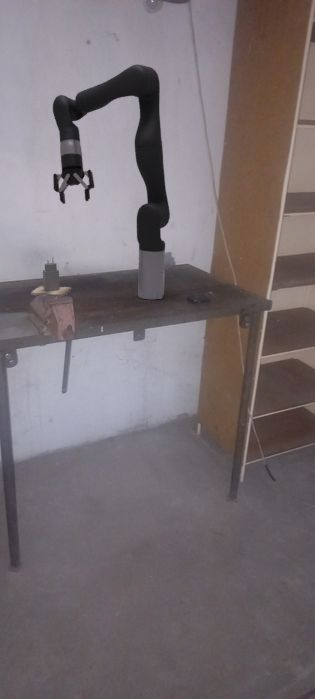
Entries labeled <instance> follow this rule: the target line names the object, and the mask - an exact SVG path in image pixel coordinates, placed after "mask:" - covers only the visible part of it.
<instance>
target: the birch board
mask: <svg viewBox="0 0 315 699" xmlns="http://www.w3.org/2000/svg"><path fill="white" fill-rule="evenodd" d="M71 291H72V287H71V286H70V287H69V286H60V290H56V291H44V285H39V286H37V288H35V289H33V290H32V291H31V292H30V295H31V296H36V297H37V295H39V294H48V295H66V296H67V295H68V294H69V293H70V292H71Z"/></svg>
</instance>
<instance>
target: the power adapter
mask: <svg viewBox="0 0 315 699" xmlns="http://www.w3.org/2000/svg"><path fill="white" fill-rule="evenodd" d="M57 265H58V264H57V263H55V262H54V257H53V256H52V262H49V261H47V263H45V264H44V269H43V270H42V278H43V279H42V280H43V282H42V284H43V286H44V291H56V290H60V287H61V286H60V270H59V269H58V266H57Z"/></svg>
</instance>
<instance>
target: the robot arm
mask: <svg viewBox="0 0 315 699" xmlns="http://www.w3.org/2000/svg"><path fill="white" fill-rule="evenodd" d="M160 86H161V85H160V78H159V74H158V73H157V70H155V69H154V68H152V67H151V66H149V65H148V66H146V65H144V64H132V65H131V66H129V67H128V68H126V69H124V70H122V71H121V72H120V73H118V74H117V75H115V76H113V77H111V78H110V79H108V80H106V81H104V82H102V83H100V84H96V85H95V86H91V87H88V88H87V89H84V90H81V91H79V92H78V93H76V95H75V97H74V98H75V99H73V98H71V97H68V96H66V95H63V94H59V95H57V96H56V97H55V98H54V100H53V103H52V112H53V113H52V114H53V116H54V117H53V118H54V120H55V124H56V125H57V126H56V127H57V129H58V133H59V146H60V147H59V155H60V163H61V164H60V167H61V173H59V174H57V173H53V174H52V175H53V177H52V180H53V191H55V192H56V193H59V201H60V202H61V203H62V204H63V205H65V204H66V196H65V191H66V190H67V189H68V187H69V186H70V187H72V186H79V185H81V186H82V187H83V188H84V190H83V191H84V200H85V202H89V200H90V199H91V196H90V190H92V189H94V188H95V181H94V174H93V172H92V170H91V169H88V170H85V171H84V164H83V152H82V146H81V137H80V136H81V135H80V129H79V127H78V126H77V124H75V123H74V122H77V121H80V120H81V119H82V118H84V117H85V116H86V115H88V114H89V113H92V112H95V111H97V110H101V109H103V108H104V107H106V106H107V105H109V104H110V103H111V102H112V101H113V102H114V101H115V100H117V99H121V98H127V97H134V98H137V99H138V105H139V119H138V120H139V121H138V125H137V127H136V128H137V129H136V133H135V135H134V153H135V162H136V166H137V169H138V171H139V173H140V176H141V178H142V180H143V183H144V184H145V186H144V187H145V188H146V199H147V202H146V203H144V204H142V205H141V206H140V207H139V208H138V210H137V214H136V240H137V243H138V279H137V280H138V281H137V283H138V284H137V297H138V298H140V299H144V300H162V299H163V298H164V295H165V280H166V279H165V274H166V270H165V257H166V256H165V255H166V242H165V241H164V240H163V239H162V237H161V229H163V228H165V227H167V225H168V223H169V221H170V219H171V218H170V217H171V211H170V206H169V201H168V195H167V189H166V180H165V178H166V177H165V167H164V152H163V141H162V129H161V113H160V98H161V97H160V92H161V90H160ZM85 176H86V177H87V178H88V182H89V183H88V185H87V184H86V182H85V181H84V180H83V179H84V178H85ZM61 179H62V180H63V181H62V182H61V184H60V181H61ZM59 184H60V185H59Z"/></svg>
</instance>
